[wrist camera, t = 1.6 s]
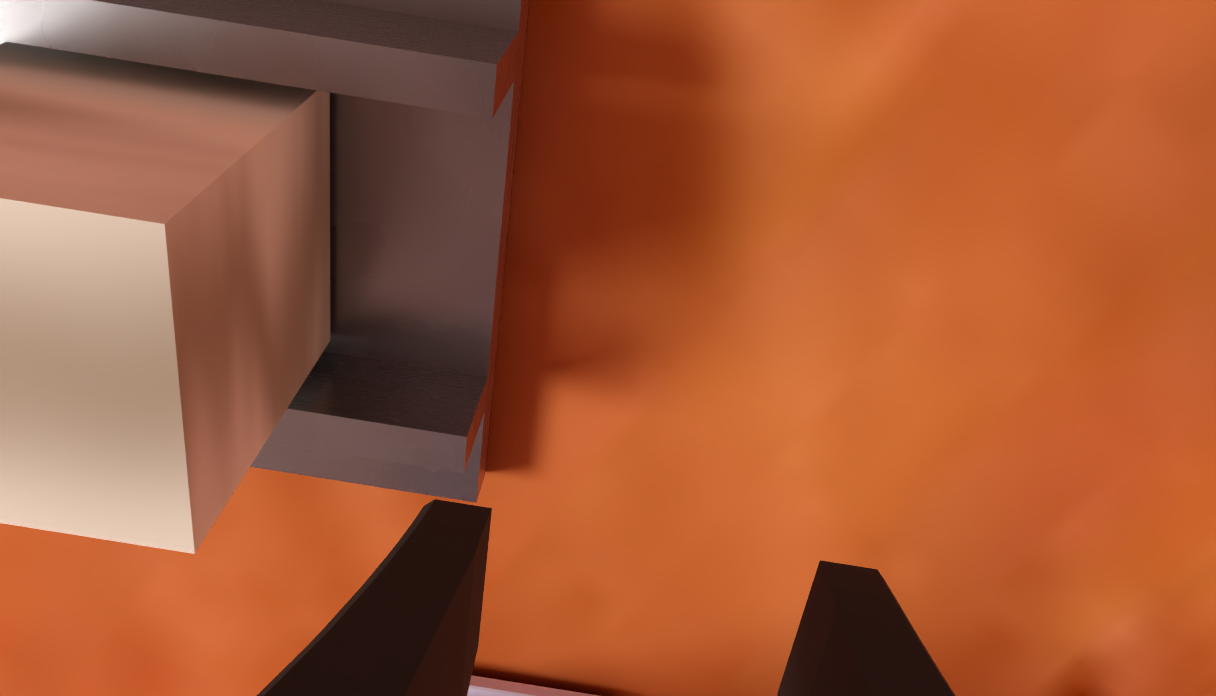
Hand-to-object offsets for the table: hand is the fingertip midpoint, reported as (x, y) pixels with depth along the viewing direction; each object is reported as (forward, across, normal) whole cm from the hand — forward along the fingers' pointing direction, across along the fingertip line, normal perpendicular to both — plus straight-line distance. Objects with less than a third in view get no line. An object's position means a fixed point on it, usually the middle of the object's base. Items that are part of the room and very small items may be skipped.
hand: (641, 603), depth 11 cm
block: (+8, +9, 0) cm, 12 cm away
